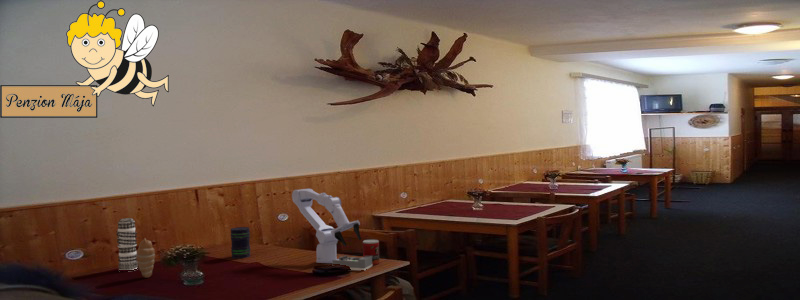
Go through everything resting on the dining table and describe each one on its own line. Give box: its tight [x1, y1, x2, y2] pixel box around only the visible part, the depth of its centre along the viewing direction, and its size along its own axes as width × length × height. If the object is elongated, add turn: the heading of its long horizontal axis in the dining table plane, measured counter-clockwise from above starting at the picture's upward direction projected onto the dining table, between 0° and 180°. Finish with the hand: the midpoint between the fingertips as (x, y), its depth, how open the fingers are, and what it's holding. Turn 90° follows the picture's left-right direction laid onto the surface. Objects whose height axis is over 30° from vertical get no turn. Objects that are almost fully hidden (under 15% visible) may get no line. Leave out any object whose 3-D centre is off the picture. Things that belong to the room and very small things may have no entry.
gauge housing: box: [332, 255, 374, 271], centre depth 280 cm, size 17×10×5 cm, turn 71°
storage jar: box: [230, 226, 251, 259], centre depth 315 cm, size 10×10×15 cm
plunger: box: [340, 255, 354, 260], centre depth 280 cm, size 4×7×4 cm
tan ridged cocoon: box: [136, 237, 156, 279], centre depth 272 cm, size 9×8×18 cm
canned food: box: [362, 239, 380, 266], centre depth 288 cm, size 8×8×11 cm
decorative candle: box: [116, 217, 139, 271], centre depth 290 cm, size 9×9×25 cm
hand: (353, 242), depth 281 cm, fingers open, 7 cm apart
